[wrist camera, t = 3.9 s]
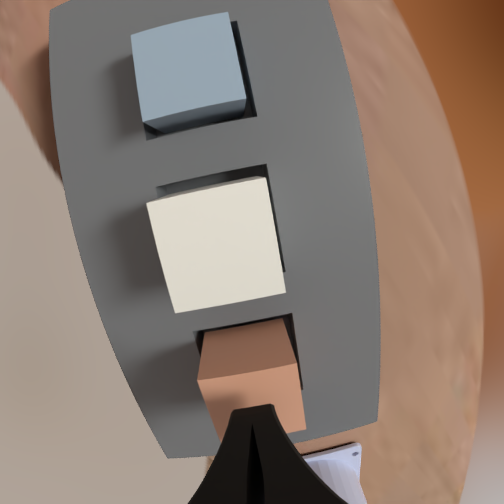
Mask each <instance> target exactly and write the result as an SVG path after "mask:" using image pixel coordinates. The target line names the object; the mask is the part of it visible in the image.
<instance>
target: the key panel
mask: <svg viewBox="0 0 504 504" xmlns="http://www.w3.org/2000/svg"><path fill="white" fill-rule="evenodd" d="M224 12H228V14H229V19H230V23H231V28H232V32H233V37H234V42H235V46H236V51H237V56H238V61H239V65H240V70H241V75H242V80H243V85H244V89H245V94H246V104H245V109H244V115H243V117H239V118H233V119H228V120H223V121H218V122H213V123H208V124H203V125H199V126H194V127H190V128H186V129H181V130H177V131H173V132H169V133H163V132H161V131H159V130H157V129H155V128H153V127H151V126H150V125H148V124H146V123H144V122H143V121H142V115H141V109H140V103H139V96H138V89H137V82H136V75H135V68H134V60H133V52H132V43H131V35H132V34H135V33H139V32H142V31H145V30H149V29H152V28H156V27H159V26H163V25H167V24H171V23H175V22H179V21H183V20H188V19H192V18H197V17H202V16H207V15H213V14H218V13H224ZM49 67H50V87H51V100H52V111H53V121H54V129H55V137H56V144H57V151H58V157H59V163H60V169H61V175H62V180H63V185H64V190H65V195H66V200H67V205H68V209H69V213H70V217H71V221H72V226H73V230H74V234H75V237H76V241H77V245H78V249H79V252H80V256H81V259H82V262H83V266H84V269H85V272H86V276H87V279H88V282H89V285H90V288H91V291H92V294H93V297H94V300H95V303H96V306H97V309H98V311H99V314H100V317H101V320H102V322H103V325H104V328H105V330H106V333H107V335H108V338H109V340H110V343H111V345H112V348H113V350H114V353H115V355H116V357H117V360H118V362H119V364H120V367H121V369H122V371H123V373H124V376H125V378H126V380H127V382H128V384H129V387H130V388H131V391H132V393H133V395H134V397H135V399H136V401H137V403H138V405H139V407H140V409H141V411H142V413H143V415H144V417H145V419H146V421H147V423H148V425H149V426H150V428H151V430H152V432H153V434H154V436H155V437H156V439H157V441H158V443H159V444H160V446H161V448H162V450H163V452H164V453H165V455H166V457H167V458H186V457H201V456H213V455H216V454H217V451H218V449H219V447H220V444H221V442H220V440H219V437H218V435H217V432H216V430H215V427H214V424H213V422H212V419H211V417H210V414H209V412H208V409H207V406H206V404H205V401H204V398H203V395H202V393H201V390H200V387H199V384H198V382H197V378H198V372H199V365H200V359H201V352H202V346H203V340H204V334H205V332H210V331H216V330H222V329H228V328H233V327H239V326H244V325H250V324H255V323H260V322H265V321H270V320H275V319H280V318H283V321H284V324H285V327H286V330H287V334H288V337H289V340H290V343H291V346H292V349H293V352H294V355H295V358H296V362H297V367H298V373H299V380H300V387H301V394H302V401H303V408H304V416H305V423H306V429H305V430H300V431H296V432H291V433H286V434H287V436H288V437H289V439H290V440H291V442H292V443H298V442H303V441H307V440H312V439H316V438H320V437H324V436H328V435H332V434H336V433H340V432H343V431H347V430H350V429H354V428H357V427H361V426H364V425H367V424H370V423H373V422H376V421H377V417H378V403H379V384H380V291H379V272H378V256H377V244H376V232H375V222H374V213H373V204H372V196H371V188H370V181H369V174H368V167H367V161H366V155H365V149H364V143H363V137H362V132H361V127H360V121H359V116H358V111H357V107H356V102H355V97H354V93H353V89H352V84H351V80H350V76H349V72H348V68H347V64H346V60H345V56H344V53H343V49H342V45H341V42H340V38H339V35H338V31H337V28H336V25H335V21H334V18H333V15H332V12H331V9H330V6H329V3H328V0H70V1H67V2H65V3H63V4H61V5H59V6H57V7H55V8H53V9H51V10H50V19H49ZM254 176H260V177H265V178H266V181H267V186H268V192H269V197H270V203H271V208H272V214H273V220H274V225H275V231H276V237H277V242H278V248H279V254H280V260H281V266H282V272H283V278H284V284H285V290H286V293H282V294H277V295H272V296H267V297H262V298H257V299H252V300H247V301H241V302H236V303H231V304H225V305H220V306H214V307H209V308H203V309H198V310H192V311H186V312H180V313H175V311H174V308H173V304H172V301H171V298H170V294H169V291H168V287H167V283H166V280H165V276H164V273H163V269H162V265H161V261H160V258H159V254H158V250H157V246H156V242H155V238H154V234H153V230H152V226H151V221H150V217H149V213H148V208H147V204H146V203H148V202H150V201H153V200H156V199H158V198H161V197H164V196H166V195H169V194H173V193H177V192H181V191H186V190H190V189H195V188H199V187H204V186H209V185H213V184H218V183H223V182H228V181H233V180H238V179H243V178H249V177H254Z"/></svg>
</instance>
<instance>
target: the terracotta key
mask: <svg viewBox="0 0 504 504" xmlns="http://www.w3.org/2000/svg"><path fill="white" fill-rule="evenodd" d="M197 382H198V384H199V387H200V390H201V393H202V395H203V398H204V401H205V404H206V406H207V409H208V412H209V414H210V417H211V419H212V422H213V424H214V427H215V430H216V432H217V435H218V437H219V440H220V442H222V440H223V437H224V434H225V432H226V429H227V426H228V422H229V419H230V415H231V412H232V411H233V410H234V409H240V408H247V407H253V406H259V405H264V404H270V403H271V404H273V405H274V407H275V411H276V414H277V416H278V419H279V421H280V423H281V425H282V427H283V429H284V430H285V432H286V433H291V432H296V431H300V430H305V429H306V423H305V416H304V408H303V401H302V394H301V387H300V380H299V373H298V367H297V362H296V358H295V355H294V352H293V349H292V346H291V343H290V340H289V337H288V334H287V330H286V327H285V324H284V321H283V318H280V319H275V320H270V321H265V322H260V323H255V324H250V325H244V326H239V327H233V328H228V329H222V330H216V331H210V332H205V334H204V340H203V346H202V352H201V359H200V365H199V372H198V378H197Z"/></svg>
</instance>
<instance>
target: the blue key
mask: <svg viewBox="0 0 504 504" xmlns="http://www.w3.org/2000/svg"><path fill="white" fill-rule="evenodd" d="M131 43H132V52H133V60H134V68H135V75H136V82H137V89H138V96H139V103H140V109H141V115H142V121H143V122H144V123H146V124H148V125H150V126H151V127H153V128H155V129H157V130H159V131H161V132H163V133H169V132H173V131H177V130H181V129H186V128H190V127H194V126H199V125H203V124H208V123H213V122H218V121H223V120H228V119H233V118H239V117H243V115H244V109H245V104H246V94H245V89H244V85H243V80H242V75H241V70H240V65H239V61H238V56H237V51H236V46H235V42H234V37H233V32H232V28H231V23H230V19H229V14H228V12H224V13H218V14H213V15H207V16H202V17H197V18H192V19H188V20H183V21H179V22H175V23H171V24H167V25H163V26H159V27H156V28H152V29H149V30H145V31H142V32H139V33H135V34H132V35H131Z"/></svg>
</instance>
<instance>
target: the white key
mask: <svg viewBox="0 0 504 504" xmlns="http://www.w3.org/2000/svg"><path fill="white" fill-rule="evenodd" d="M146 204H147V208H148V213H149V217H150V221H151V226H152V230H153V234H154V238H155V242H156V246H157V250H158V254H159V258H160V261H161V265H162V269H163V273H164V276H165V280H166V283H167V287H168V291H169V294H170V298H171V301H172V304H173V308H174V311H175V313H180V312H186V311H192V310H198V309H203V308H209V307H214V306H220V305H225V304H231V303H236V302H241V301H247V300H252V299H257V298H262V297H267V296H272V295H277V294H282V293H286V290H285V284H284V278H283V272H282V266H281V260H280V254H279V248H278V242H277V237H276V231H275V225H274V220H273V214H272V208H271V203H270V197H269V192H268V186H267V181H266V178H265V177H260V176H254V177H249V178H243V179H238V180H233V181H228V182H223V183H218V184H213V185H209V186H204V187H199V188H195V189H190V190H186V191H181V192H177V193H173V194H169V195H166V196H164V197H161V198H158V199H156V200H153V201H150V202H148V203H146Z"/></svg>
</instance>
